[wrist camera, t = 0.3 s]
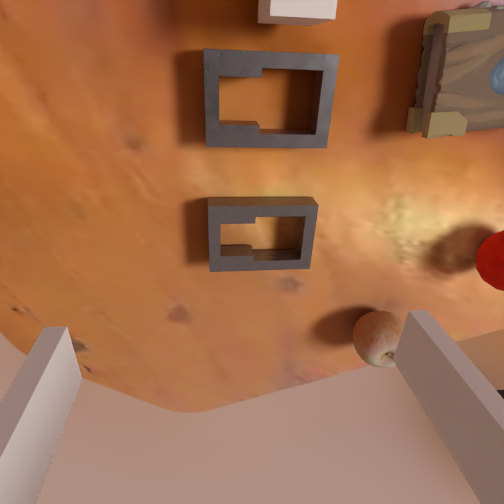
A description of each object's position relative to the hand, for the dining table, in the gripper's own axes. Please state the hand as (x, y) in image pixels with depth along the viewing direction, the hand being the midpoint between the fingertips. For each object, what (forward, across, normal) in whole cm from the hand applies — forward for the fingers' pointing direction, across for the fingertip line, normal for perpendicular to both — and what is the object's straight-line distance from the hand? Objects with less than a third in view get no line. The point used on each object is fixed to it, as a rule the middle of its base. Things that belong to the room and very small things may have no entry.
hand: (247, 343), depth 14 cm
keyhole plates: (+26, +6, -1) cm, 27 cm away
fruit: (+26, +21, -23) cm, 41 cm away
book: (+27, +26, +10) cm, 39 cm away
